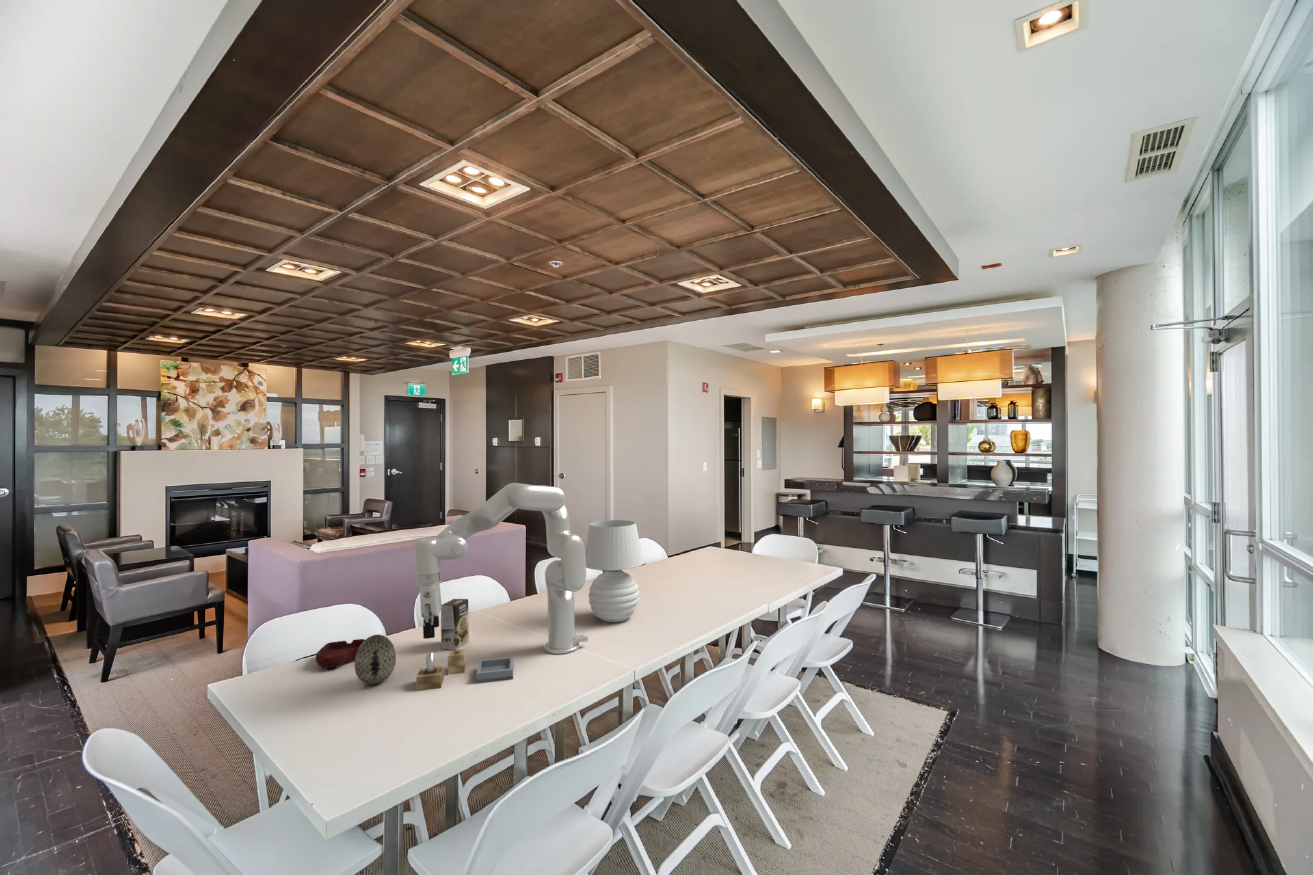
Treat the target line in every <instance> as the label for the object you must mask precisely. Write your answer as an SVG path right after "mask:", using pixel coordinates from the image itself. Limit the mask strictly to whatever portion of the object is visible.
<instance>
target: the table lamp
mask: <svg viewBox="0 0 1313 875" xmlns="http://www.w3.org/2000/svg"><path fill="white" fill-rule="evenodd" d="M586 538H587V540H586V546H585V557H586V569H590V570H593V571H594V570H596V571H604V572H602V573H600V574H598V576H597V577H595V578H594V579H593V581H592V582H591V585H590V586H589V589H588V590H589V592H588V598H589V599H588V604H589V605H590V610H591V611H592V612H593V613H594V615H595V616H596V617H597V618H599V619H600V620H601V621H602V622H607V623H620V622H621V623H622V622H625V621H626V620H628V619H629V618H630V617H631V616H632V615H633V614H634V613H635V611H636V610H637V608H638V604H639V602H640V597H639V596H640V591H639V585H638V584H637V582H636V580H635V578H634V577H632V576H631V574H629V573H627V572H626V571H624V570H631V569H635V568H639V567H641V566H643V565H644V562H645V560H644V556H643V552H642V546H641V541H640V537H639V531H638V528H637V522H636V521H633V520H626V519H623V520H622V519H610V520H609V519H608V520H606V519H605V520H598V521H593V522H590V524H589V528H588V534H587V537H586Z"/></svg>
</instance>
